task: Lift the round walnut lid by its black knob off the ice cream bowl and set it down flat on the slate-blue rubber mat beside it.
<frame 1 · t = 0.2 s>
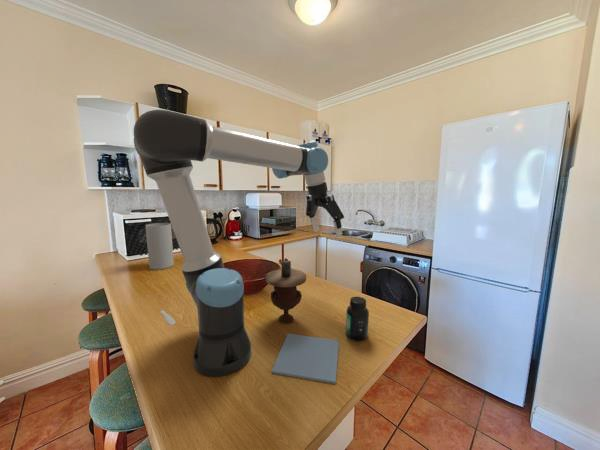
hand: (327, 233, 99), 28 cm above the table, tool tilted 20°, fingers open, 13 cm apart
ice cream bowl: (286, 319, 85), on the table, touching walnut lid
slate mat: (308, 356, 66), on the table
supplement bottle: (356, 335, 76), on the table
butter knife: (160, 311, 90), on the table
walnut lid: (286, 279, 83), point 15 cm above the table, touching ice cream bowl
cylinder vase: (161, 266, 140), on the table
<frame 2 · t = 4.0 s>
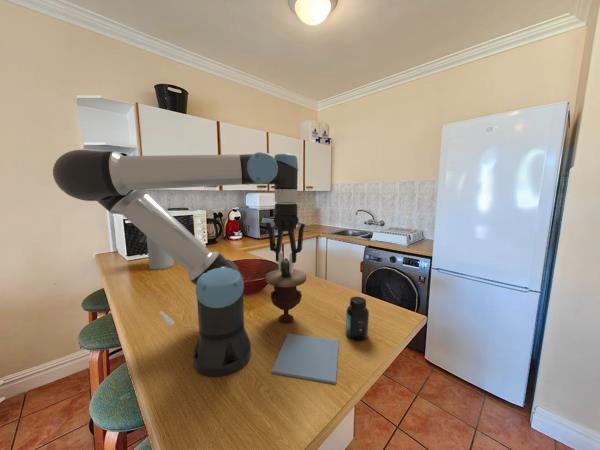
hand: (286, 271, 82), 18 cm above the table, tool pointing down, fingers closed on walnut lid, 3 cm apart
ice cream bowl: (286, 319, 85), on the table
walnut lid: (286, 279, 83), point 15 cm above the table, touching gripper
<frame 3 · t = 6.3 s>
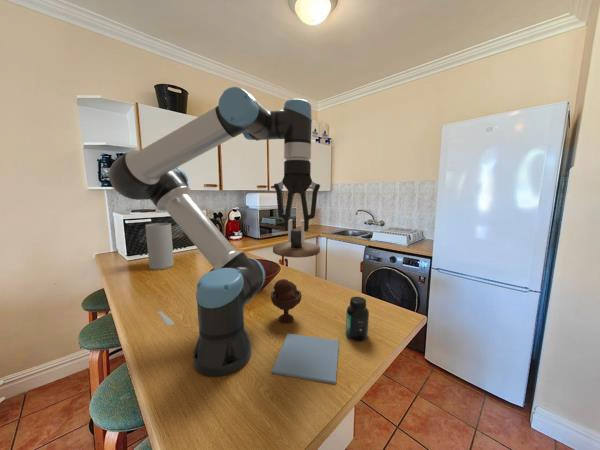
hand: (296, 241, 71), 30 cm above the table, tool pointing down, fingers closed on walnut lid, 3 cm apart
walnut lid: (296, 250, 71), point 28 cm above the table, touching gripper
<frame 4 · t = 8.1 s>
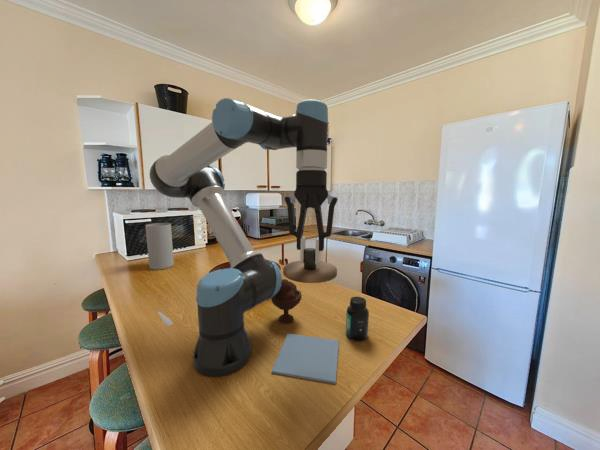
hand: (310, 262, 62), 27 cm above the table, tool pointing down, fingers closed on walnut lid, 3 cm apart
walnut lid: (309, 272, 63), point 24 cm above the table, touching gripper
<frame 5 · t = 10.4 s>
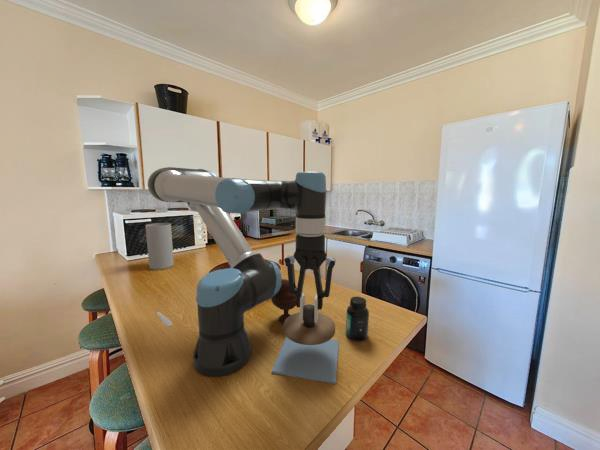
hand: (309, 318, 64), 11 cm above the table, tool pointing down, fingers closed on walnut lid, 3 cm apart
walnut lid: (309, 328, 65), point 8 cm above the table, touching gripper
when the fingers open (5 cm above the table, at t = 12.5 s): walnut lid drops 1 cm, resting on slate mat.
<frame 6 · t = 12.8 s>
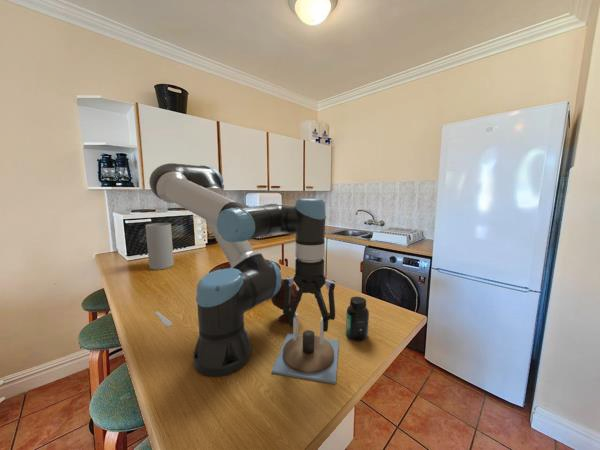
hand: (308, 339, 65), 5 cm above the table, tool pointing down, fingers open, 7 cm apart
walnut lid: (308, 354, 66), point 1 cm above the table, touching slate mat
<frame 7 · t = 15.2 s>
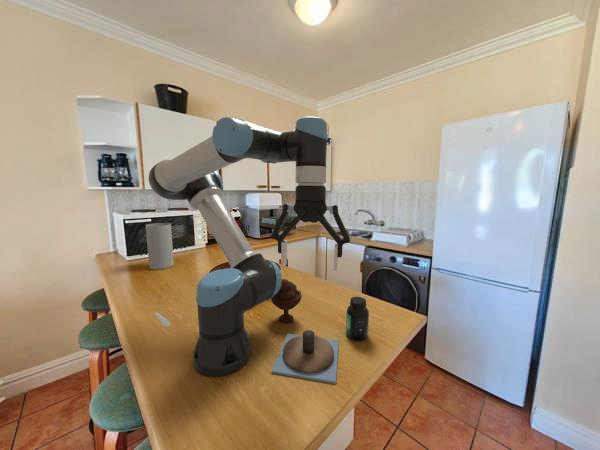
hand: (309, 267, 62), 26 cm above the table, tool pointing down, fingers open, 13 cm apart
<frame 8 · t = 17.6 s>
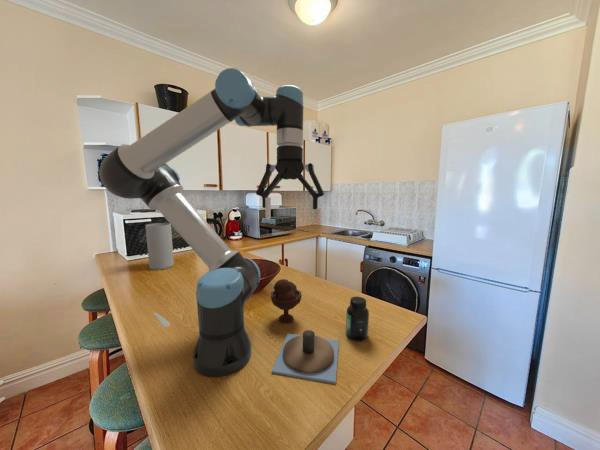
hand: (289, 219, 72), 37 cm above the table, tool pointing down, fingers open, 13 cm apart
at the end: walnut lid inside the target area on the slate mat (0.0 cm from its centre), point 0.6 cm above the slate mat's base; walnut lid tilted 0°; ice cream bowl moved 0.2 cm from its start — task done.
